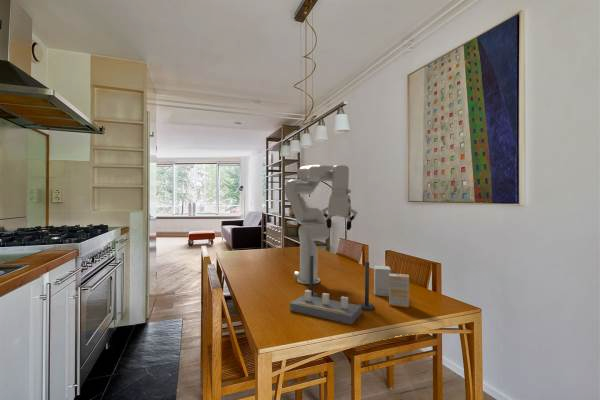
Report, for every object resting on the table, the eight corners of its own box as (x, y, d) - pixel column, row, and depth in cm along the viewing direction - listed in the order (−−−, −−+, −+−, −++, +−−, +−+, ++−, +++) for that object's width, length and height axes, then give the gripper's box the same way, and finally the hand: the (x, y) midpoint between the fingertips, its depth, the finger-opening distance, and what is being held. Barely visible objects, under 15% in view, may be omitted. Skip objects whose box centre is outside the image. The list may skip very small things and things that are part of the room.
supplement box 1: (390, 296, 138) (391, 269, 137) (374, 295, 139) (374, 268, 139) (389, 291, 145) (389, 266, 145) (373, 290, 146) (374, 265, 146)
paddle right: (340, 307, 114) (340, 297, 114) (342, 306, 116) (342, 296, 116) (346, 308, 113) (346, 298, 113) (348, 307, 114) (348, 297, 114)
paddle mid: (321, 303, 118) (322, 294, 118) (323, 302, 119) (323, 292, 119) (327, 305, 117) (327, 295, 117) (329, 303, 118) (329, 293, 118)
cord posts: (302, 297, 135) (302, 256, 135) (308, 294, 140) (309, 254, 140) (371, 311, 119) (372, 264, 119) (375, 306, 124) (376, 261, 124)
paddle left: (304, 300, 122) (304, 290, 122) (306, 299, 123) (306, 289, 123) (309, 301, 121) (309, 291, 121) (311, 300, 122) (311, 290, 122)
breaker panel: (290, 310, 119) (290, 302, 119) (304, 301, 130) (304, 294, 130) (351, 324, 107) (351, 315, 107) (361, 313, 117) (361, 305, 117)
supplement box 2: (408, 304, 127) (409, 274, 127) (409, 308, 123) (409, 277, 123) (388, 302, 130) (389, 272, 130) (388, 305, 126) (388, 275, 126)
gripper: (360, 192, 135) (359, 229, 136) (326, 191, 144) (325, 226, 145) (354, 192, 129) (353, 231, 130) (319, 191, 138) (318, 227, 139)
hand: (338, 228), depth 137 cm, fingers open, 9 cm apart
